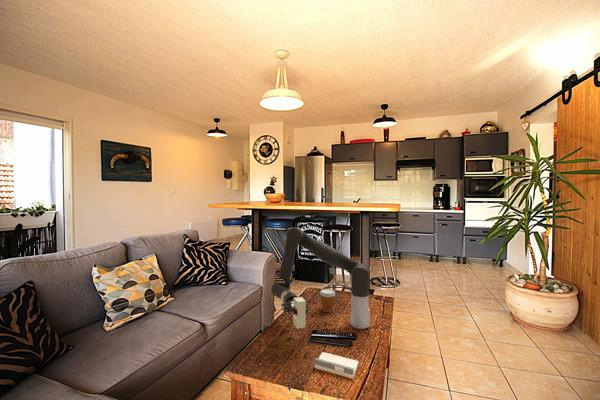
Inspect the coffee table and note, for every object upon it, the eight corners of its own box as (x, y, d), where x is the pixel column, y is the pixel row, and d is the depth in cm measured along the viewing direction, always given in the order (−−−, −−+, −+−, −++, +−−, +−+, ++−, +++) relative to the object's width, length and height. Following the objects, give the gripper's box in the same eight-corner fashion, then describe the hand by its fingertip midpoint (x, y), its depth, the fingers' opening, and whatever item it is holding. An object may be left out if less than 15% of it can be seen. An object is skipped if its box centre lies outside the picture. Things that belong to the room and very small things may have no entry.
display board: (322, 355, 123) (322, 347, 123) (358, 364, 117) (358, 356, 117) (314, 368, 114) (314, 359, 114) (352, 379, 108) (352, 370, 108)
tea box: (301, 322, 131) (301, 297, 131) (305, 327, 126) (305, 301, 126) (293, 323, 130) (293, 297, 130) (297, 328, 124) (297, 302, 124)
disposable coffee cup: (330, 314, 165) (331, 295, 165) (316, 311, 170) (317, 291, 170) (337, 309, 173) (337, 290, 173) (323, 306, 178) (324, 287, 178)
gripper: (276, 293, 139) (286, 306, 123) (303, 290, 144) (316, 302, 127) (276, 308, 139) (286, 323, 123) (302, 305, 144) (316, 318, 127)
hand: (301, 312), depth 125 cm, fingers closed on tea box, 4 cm apart
